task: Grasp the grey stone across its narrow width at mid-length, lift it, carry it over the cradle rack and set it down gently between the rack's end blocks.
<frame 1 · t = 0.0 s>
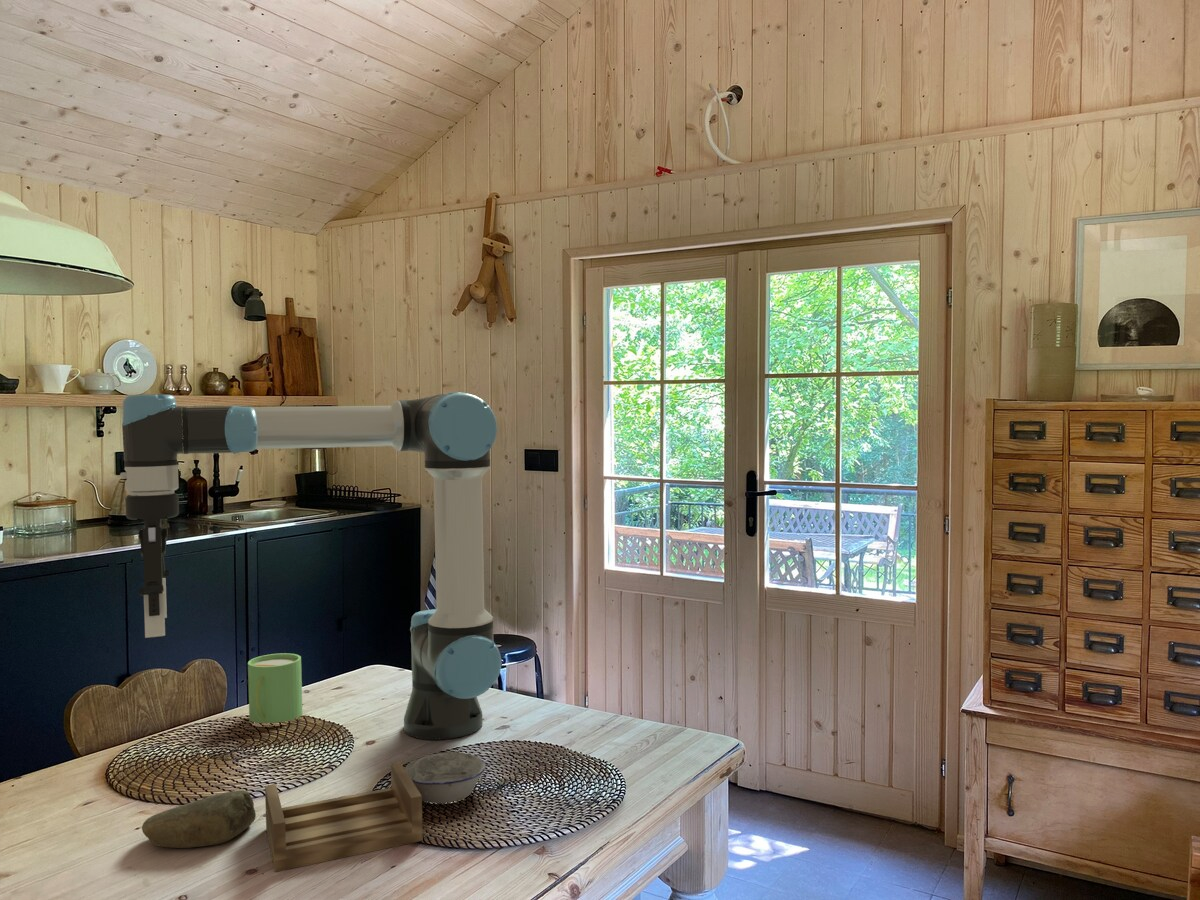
hand: (156, 627, 142), 28 cm above the table, fingers open, 13 cm apart
mug: (272, 721, 181), on the table
rack: (343, 834, 131), on the table
stone: (199, 841, 130), on the table
bowl: (445, 796, 144), on the table
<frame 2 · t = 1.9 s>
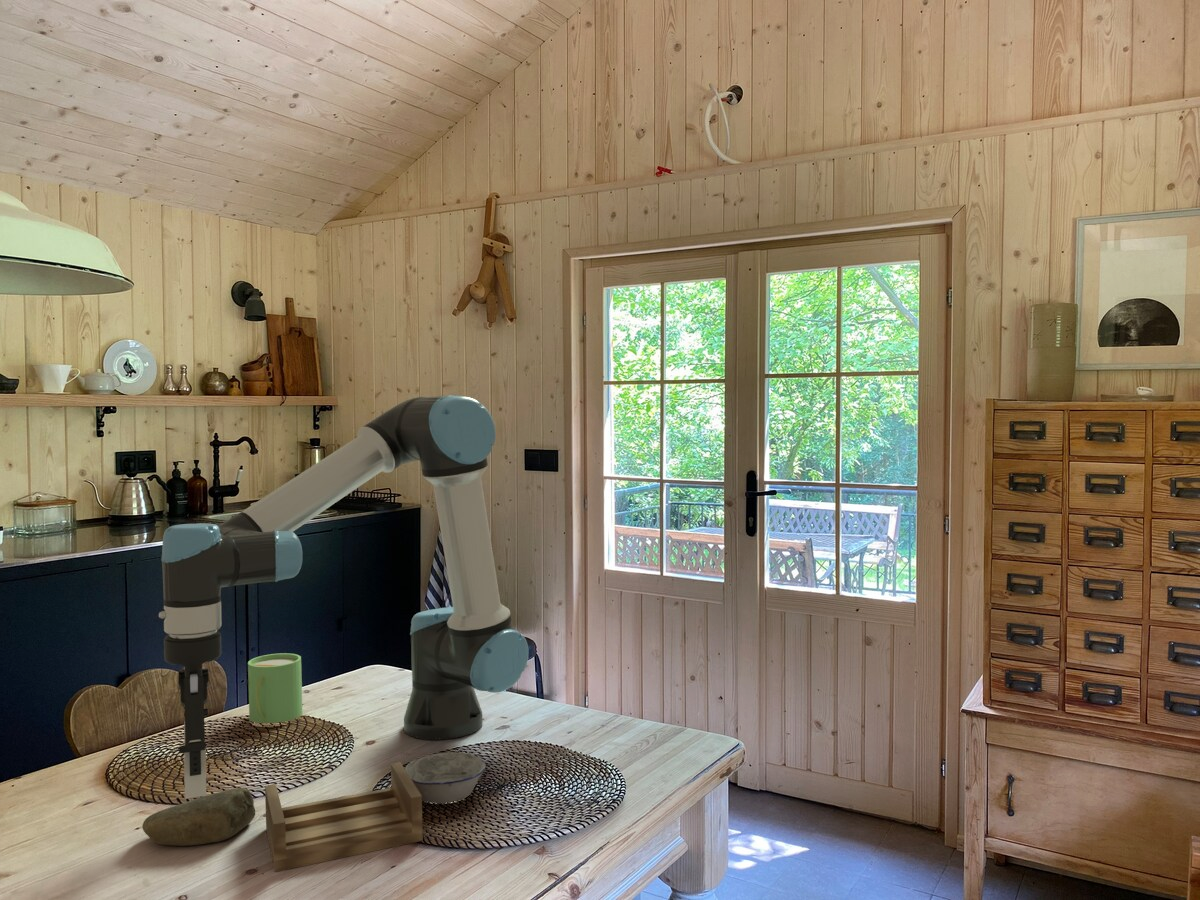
hand: (195, 778, 130), 9 cm above the table, fingers open, 13 cm apart
nothing on the table moved.
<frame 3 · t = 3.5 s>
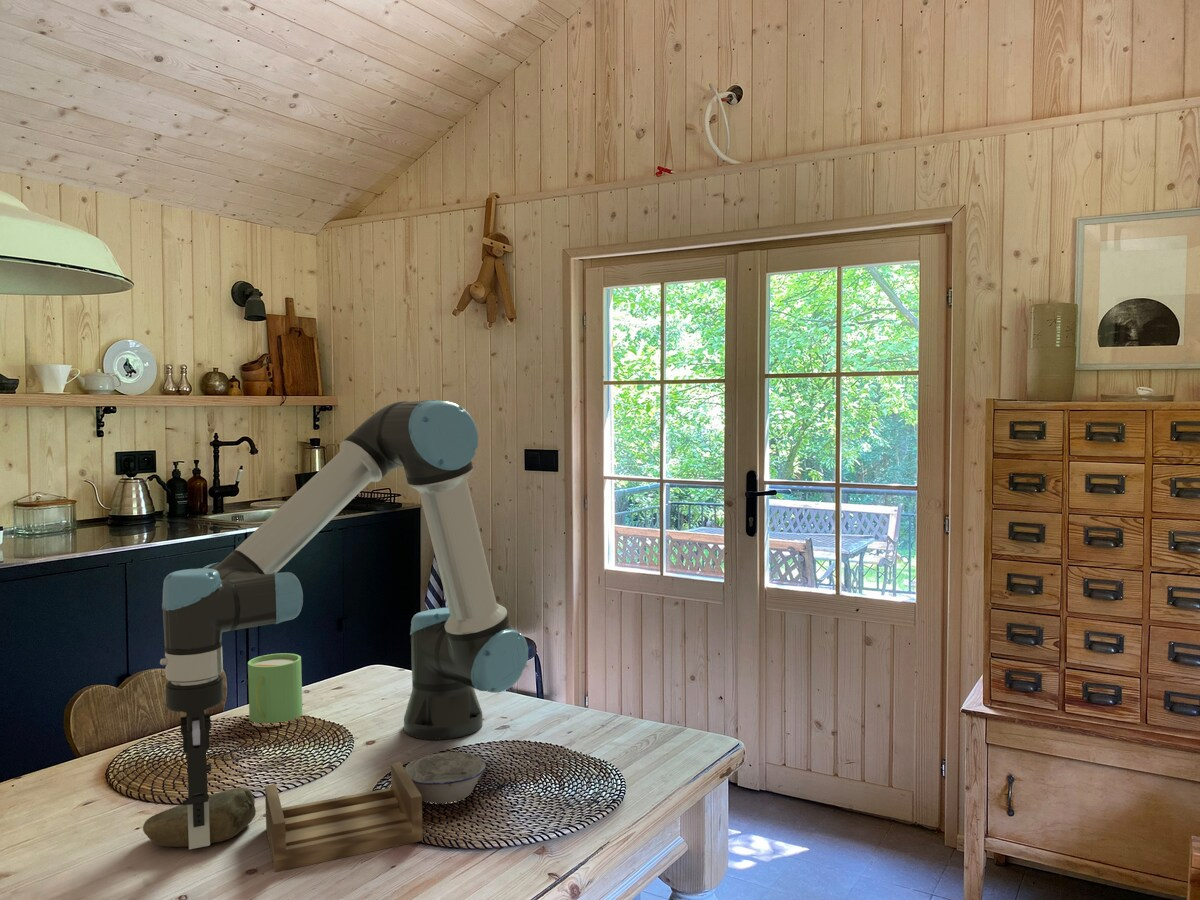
hand: (199, 831, 130), 1 cm above the table, fingers closed on stone, 9 cm apart
stone: (200, 839, 131), on the table, touching gripper
everything else where it was.
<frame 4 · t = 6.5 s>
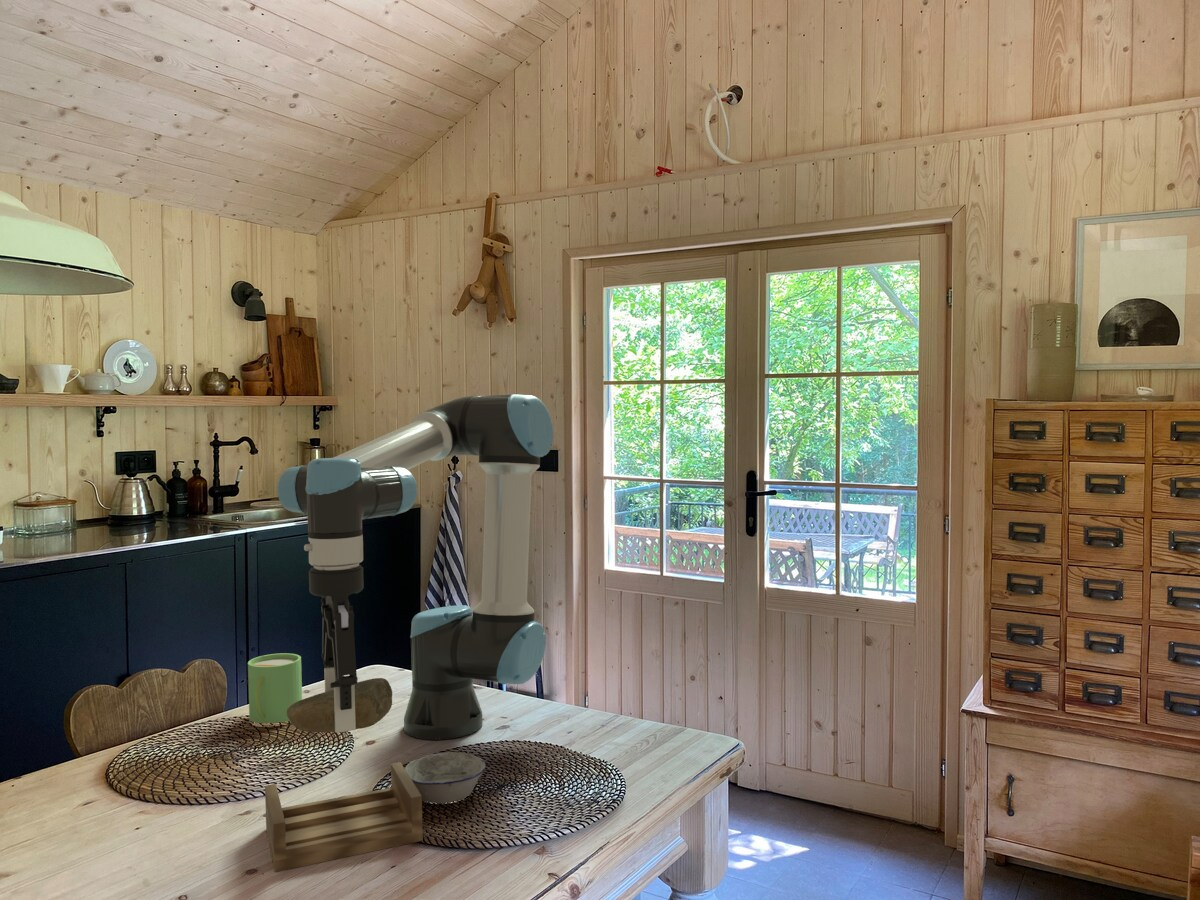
hand: (340, 720, 130), 17 cm above the table, fingers closed on stone, 9 cm apart
stone: (341, 727, 131), point 16 cm above the table, touching gripper
everything else where it was.
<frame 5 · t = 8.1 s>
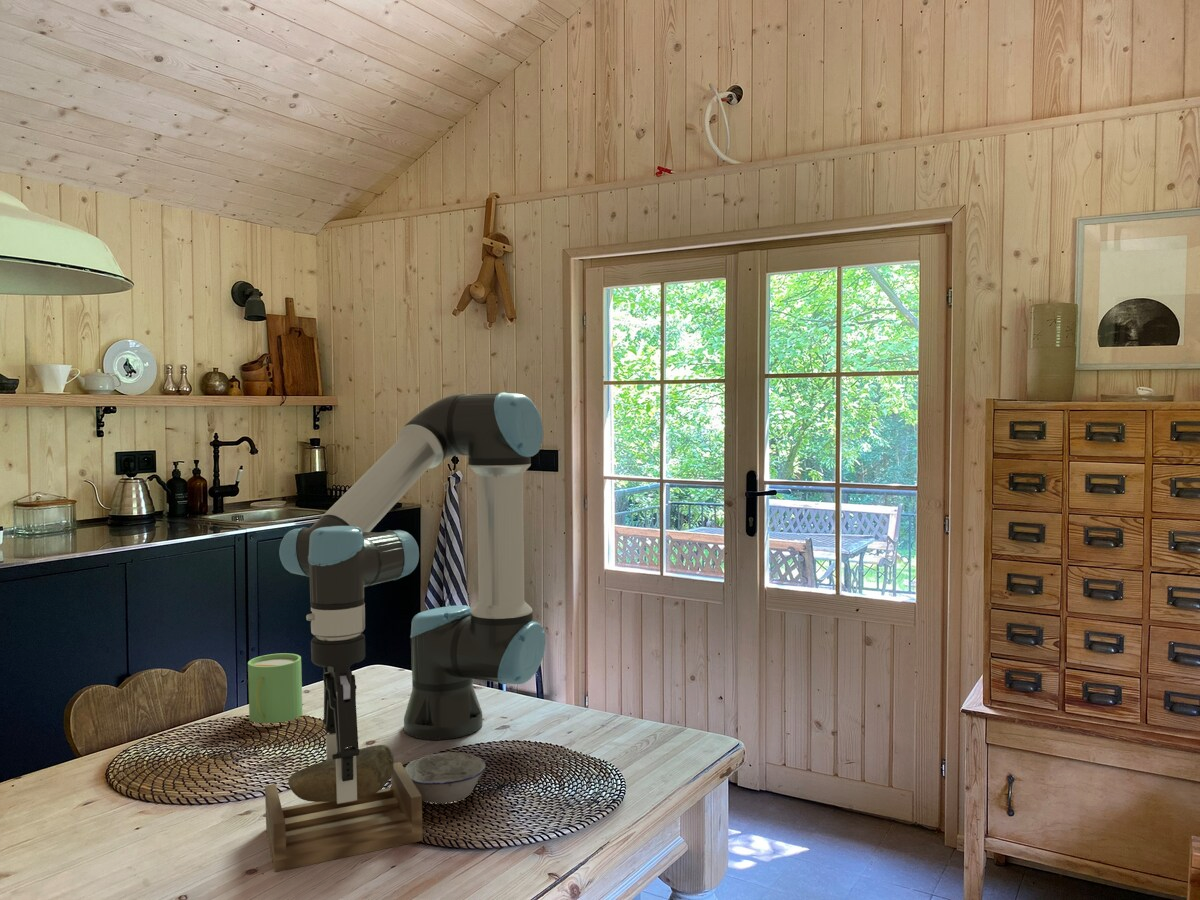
hand: (341, 788, 131), 7 cm above the table, fingers closed on stone, 9 cm apart
stone: (342, 796, 131), point 6 cm above the table, touching gripper
everything else where it was.
when the fingers open (5 cm above the table, at t = 9.5 s): stone drops 2 cm, resting on rack.
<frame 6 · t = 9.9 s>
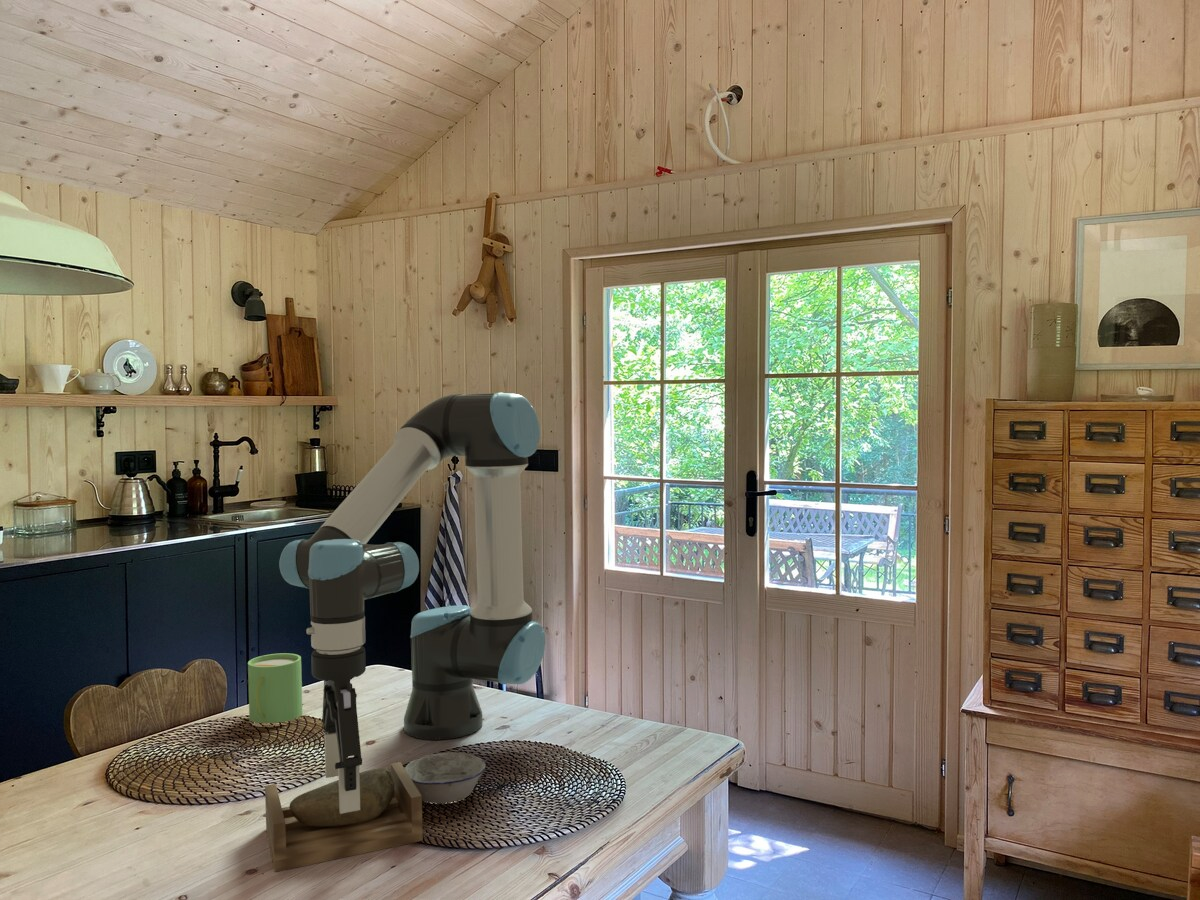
hand: (342, 792, 131), 6 cm above the table, fingers open, 13 cm apart
stone: (343, 819, 131), point 2 cm above the table, touching rack
everything else where it was.
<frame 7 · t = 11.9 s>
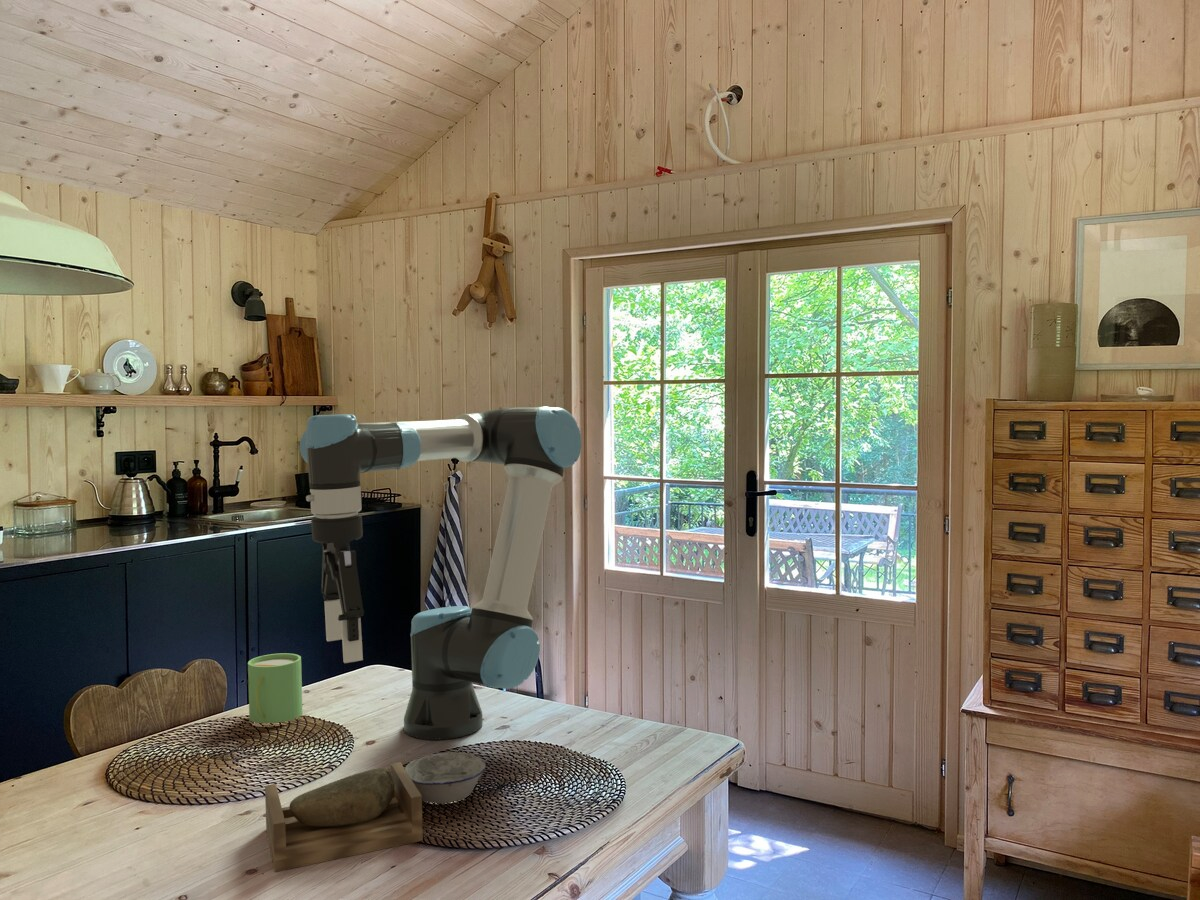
hand: (343, 650, 140), 24 cm above the table, fingers open, 13 cm apart
nothing on the table moved.
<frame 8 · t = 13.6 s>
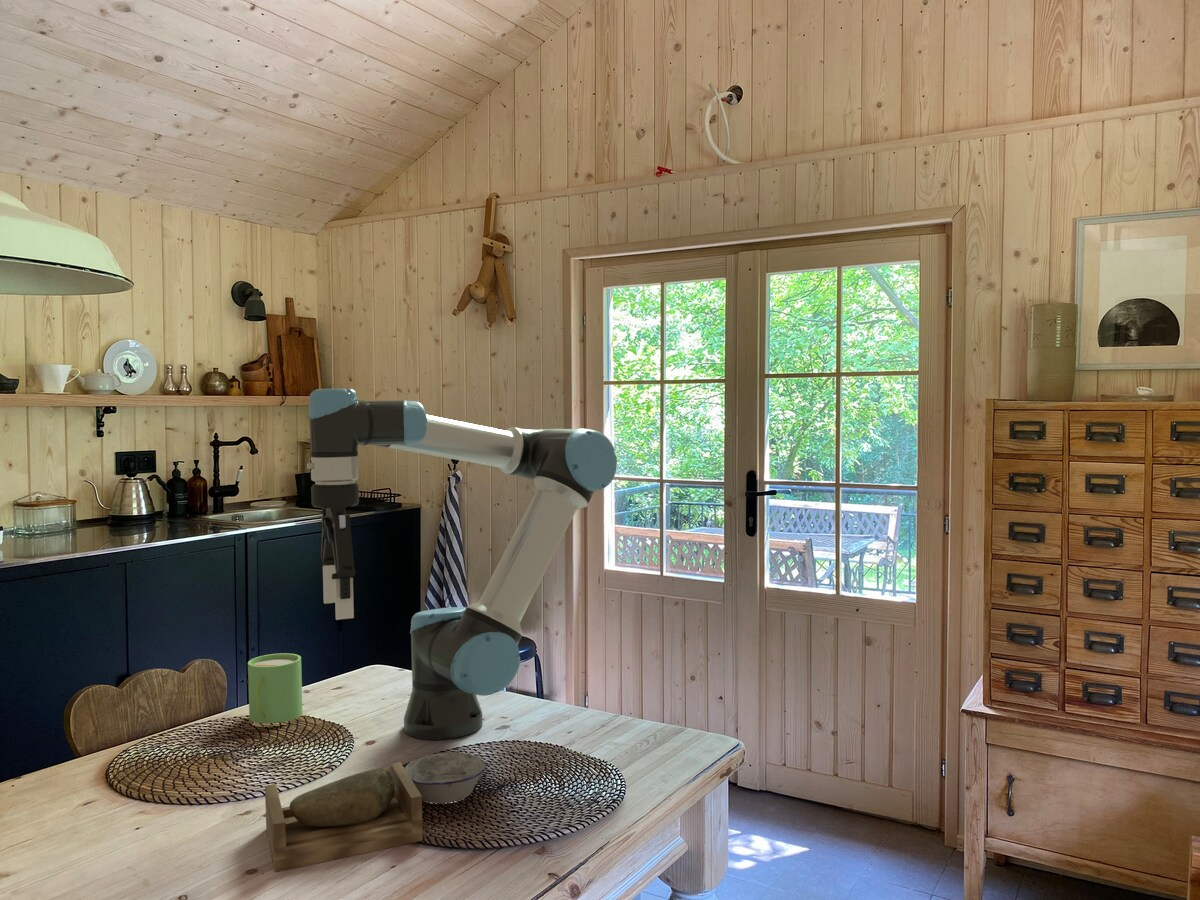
hand: (338, 610, 149), 29 cm above the table, fingers open, 13 cm apart
nothing on the table moved.
at the end: stone inside the target area on the rack (0.2 cm from its centre), point 2.1 cm above the rack's base; stone touching rack; the gripper is holding nothing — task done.
